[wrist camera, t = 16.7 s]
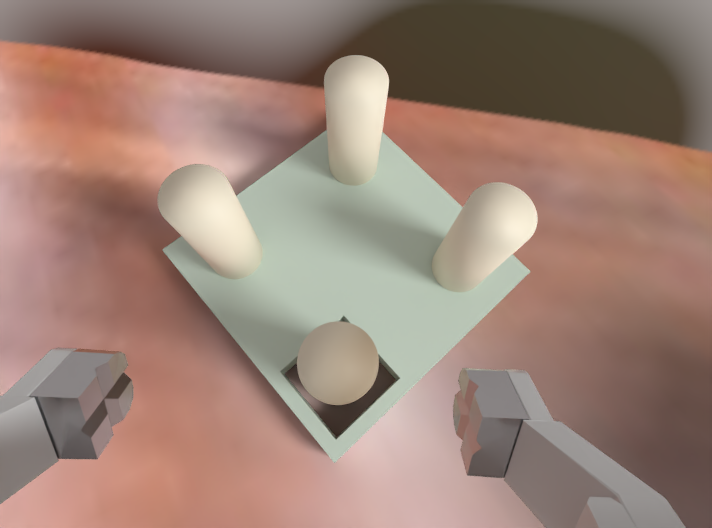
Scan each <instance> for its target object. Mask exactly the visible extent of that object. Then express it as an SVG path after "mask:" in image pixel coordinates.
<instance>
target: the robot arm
mask: <svg viewBox="0 0 712 528" xmlns="http://www.w3.org/2000/svg"><path fill="white" fill-rule="evenodd" d="M127 366H128V363H127V360H126V356H125V354H124V353H122V352H119V351H105V350H91V349H71V348H56V349H52V350H50V351H49V352H48V353H47V354H46V355H45V356H44V357H43V358H42V359H41V360H40V361H39V362H38V363H37V364H36V365H35V366H34V367H33V368H31V369H30V370H29V371H28V372H27V373H26V374H25V375H24V376H23V377H22V378H21V379H20V380H19V381H18V382H17V383H16V384H15V385H14V386H13V387H11V388H10V389H9V390H8V391H7V392H6V393H5V394H4V395H3V396H0V504H1V503H3V502H4V501H5V500H7V499H8V498H9V497H11V496H12V495H13V494H15V493H16V492H17V491H19V490H20V489H21V488H23V487H24V486H25V485H27V484H28V483H29V482H31V481H32V480H33V479H35V478H36V477H37V476H39V475H40V474H41V473H43V472H44V471H46V470H47V469H48V468H50V467H51V466H52V465H54V464H55V463H56V462H58V459H98V458H99V456H100V455H101V453H102V452H103V450H104V449H105V447H106V446H107V444H108V443H109V441H110V440H111V438H112V436H113V430H112V426H114V425H115V424H117V423H119V422H120V421H122V420H123V419H124V418H125V416H126V414H127V413H128V411H129V410H130V406H131V403H132V400H133V384H132V380H131V379H130V378H129V377H128V376H127V375H126V374H125V373H124V370H125V369H126V368H127ZM458 381H459V385H460V388H461V391H459V392H458V393H457V394H456V395H455V400H454V406H453V418H454V426H455V430H456V434H457V435H458V436H459V437H460V438H461V439H462V440H463V442H462V446H461V454H462V458H463V461H464V465H465V469H466V473H467V475H468V476H482V477H496V478H504V480H505V482H506V483H507V484H508V485H509V486H510V487H511V488H512V490H513V491H514V492H515V493H516V494H517V495H518V496H519V498H520V499H521V500H522V501H523V502H524V503H525V504H526V506H527V507H528V508H529V509H530V510H531V511H532V512H533V514H534V515H535V516H536V517H537V518H538V519H539V520H540V522H541V523H542V524H543V525H544V526H545V527H546V528H686V527H685V526H684V524H683V523H682V521H681V520H680V518H679V517H678V516H677V514H676V513H675V511H674V510H673V508H672V507H671V505H670V504H669V502H668V501H667V500H666V498H664V497H663V496H662V495H660V494H659V493H658V492H656V491H655V490H653V489H652V488H651V487H649V486H648V485H647V484H645V483H644V482H642V481H641V480H640V479H638V478H637V477H636V476H634V475H633V474H631V473H630V472H629V471H627V470H626V469H625V468H623V467H622V466H621V465H619V464H618V463H616V462H615V461H614V460H612V459H611V458H610V457H608V456H607V455H605V454H604V453H603V452H601V451H600V450H599V449H597V448H596V447H594V446H593V445H592V444H590V443H589V442H588V441H586V440H585V439H584V438H582V437H581V436H579V435H578V434H577V433H575V432H574V431H573V430H571V429H570V428H568V427H567V426H566V425H564V424H563V423H562V422H559V421H554V420H553V418H552V416H551V415H550V413H549V411H548V409H547V407H546V405H545V404H544V402H543V400H542V398H541V396H540V394H539V392H538V391H537V389H536V387H535V385H534V383H533V381H532V379H531V378H530V376H529V374H528V372H526V371H525V370H492V369H469V368H463V369H462V370H461V372H460V376H459V380H458Z"/></svg>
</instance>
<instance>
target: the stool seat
mask: <svg viewBox="0 0 712 528" xmlns="http://www.w3.org/2000/svg"><path fill="white" fill-rule="evenodd" d="M388 87H389V78H388V74H387V72H386V70H385V69H384V68H383V66H382V65H381V64H380V63H378V62H377V61H375V60H373V59H371V58H369V57H366V56H360V55H351V56H346V57H343V58H340V59H338V60H337V61H335V62H334V63H332V64H331V65H330V66H329V68H328V69H327V71H326V74H325V77H324V88H325V105H326V121H327V130H326V131H324V132H323V133H321V134H320V135H319V136H317V137H316V138H315V139H313V140H312V141H311V142H309V143H308V144H306V145H305V146H304V147H302V148H301V149H300V150H298V151H297V152H295V153H294V154H293V155H291V156H290V157H289V158H287V159H286V160H285V161H283V162H282V163H280V164H279V165H278V166H276V167H275V168H274V169H272V170H271V171H269V172H268V173H267V174H265V175H264V176H263V177H261V178H260V179H259V180H257V181H256V182H254V183H253V184H252V185H250V186H249V187H248V188H246V189H245V190H243V191H242V192H241V193H239V194H238V195H237V196H236V195H235V193H234V191H233V189H232V187H231V185H230V183H229V181H228V179H227V178H226V176H225V175H224V174H223V173H222V172H221V171H219V170H218V169H216V168H214V167H212V166H208V165H203V164H194V165H188V166H185V167H182V168H180V169H178V170H176V171H174V172H173V173H172V174H170V175H169V176H168V177H167V178H166V179H165V181H164V182H163V184H162V185H161V187H160V190H159V193H158V207H159V211H160V213H161V214H162V216H163V217H164V218H165V220H166V221H167V222H168V223H169V224H170V225H171V226H172V227H173V228H174V229H175V230H176V231H177V232H178V233H179V234H180V235H181V236H180V237H179V238H178V239H176V240H175V241H174V242H172V243H171V244H170V245H168V246H167V247H165V248H164V249H163V252H164V253H165V254H166V255H167V256H168V258H169V259H170V260H171V261H172V263H173V264H174V265H175V266H176V268H177V269H178V270H179V271H180V273H181V274H182V275H183V276H184V277H185V279H186V280H187V281H188V282H189V284H190V285H191V286H192V287H193V289H194V290H195V291H196V292H197V294H198V295H199V296H200V297H201V299H202V300H203V301H204V302H205V303H206V305H207V306H208V307H209V308H210V310H211V311H212V312H213V313H214V315H215V316H216V317H217V318H218V320H219V321H220V322H221V323H222V324H223V326H224V327H225V328H226V329H227V331H228V332H229V333H230V334H231V336H232V337H233V338H234V339H235V341H236V342H237V343H238V344H239V346H240V347H241V348H242V349H243V350H244V352H245V353H246V354H247V355H248V357H249V358H250V359H251V360H252V362H253V363H254V364H255V365H256V367H257V368H258V369H259V370H260V372H261V373H262V374H263V375H264V376H265V378H266V379H267V380H268V381H269V383H270V384H271V385H272V386H273V388H274V389H275V390H276V391H277V393H278V394H279V395H280V396H281V397H282V399H283V400H284V401H285V402H286V404H287V405H288V406H289V407H290V409H291V410H292V411H293V412H294V414H295V415H296V416H297V417H298V419H299V420H300V421H301V422H302V423H303V425H304V426H305V427H306V428H307V430H308V431H309V432H310V433H311V435H312V436H313V437H314V438H315V440H316V441H317V442H318V443H319V444H320V446H321V447H322V448H323V449H324V451H325V452H326V453H327V454H328V456H329V457H330V458H331V459H332V461H333V462H334V463H335V462H336V461H337V460H338V459H339V458H340V457H341V456H342V455H343V454H344V453H345V452H346V451H347V450H349V449H350V448H351V447H352V446H353V445H354V444H355V443H356V442H357V441H358V440H359V439H360V438H361V437H362V436H363V435H364V434H365V433H366V432H367V431H368V430H369V429H370V428H371V427H372V426H373V425H374V424H375V423H376V422H377V421H378V420H379V419H380V418H381V417H382V416H383V415H384V414H385V413H386V412H387V411H388V410H389V409H390V408H391V407H393V406H394V405H395V404H396V403H397V402H398V401H399V400H400V399H401V398H402V397H403V396H404V395H405V394H406V393H407V392H408V391H409V390H410V389H411V388H412V387H413V386H414V385H415V384H416V383H417V382H418V381H419V380H420V379H421V378H422V377H423V376H424V375H425V374H426V373H427V372H428V371H429V370H430V369H431V368H432V367H433V366H434V365H435V364H437V363H438V362H439V361H440V360H441V359H442V358H443V357H444V356H445V355H446V354H447V353H448V352H449V351H450V350H451V349H452V348H453V347H454V346H455V345H456V344H457V343H458V342H459V341H460V340H461V339H462V338H463V337H464V336H465V335H466V334H467V333H468V332H469V331H470V330H471V329H472V328H473V327H474V326H475V325H476V324H477V323H478V322H479V321H480V320H482V319H483V318H484V317H485V316H486V315H487V314H488V313H489V312H490V311H491V310H492V309H493V308H494V307H495V306H496V305H497V304H498V303H499V302H500V301H501V300H502V299H503V298H504V297H505V296H506V295H507V294H508V293H509V292H510V291H511V290H512V289H513V288H514V287H515V286H516V285H517V284H518V283H519V282H520V281H521V280H522V279H523V278H524V277H526V276H527V275H528V274H529V273H530V272H531V271H530V270H528V269H527V268H526V267H525V266H524V265H523V264H522V263H521V262H520V261H519V260H518V259H517V258H516V257H515V256H514V255H513V253H514V252H515V251H516V250H518V249H519V248H520V247H521V246H522V245H523V244H524V243H525V242H527V241H528V240H529V239H530V238H531V237H532V235H533V234H534V232H535V229H536V226H537V212H536V209H535V206H534V204H533V202H532V201H531V199H530V198H529V197H528V196H527V195H526V194H525V193H524V192H523V191H522V190H520V189H519V188H517V187H515V186H513V185H510V184H506V183H500V182H494V183H488V184H485V185H482V186H480V187H479V188H477V189H476V190H475V191H474V192H473V193H472V194H471V195H470V197H469V198H468V200H467V202H466V203H465V205H464V207H462V206H461V205H459V204H458V203H457V202H456V201H455V200H454V199H453V198H452V197H451V196H450V195H449V194H448V193H447V192H446V191H445V190H444V189H442V188H441V187H440V186H439V185H438V184H437V183H436V182H435V181H434V180H433V179H432V178H431V177H430V176H429V175H428V174H427V173H426V172H424V171H423V170H422V169H421V168H420V167H419V166H418V165H417V164H416V163H415V162H414V161H413V160H412V159H411V158H410V157H409V156H407V155H406V154H405V153H404V152H403V151H402V150H401V149H400V148H399V147H398V146H397V145H396V144H395V143H394V142H393V141H392V140H390V139H389V138H388V137H387V136H386V135H385V134H384V133H383V132H382V129H383V122H384V115H385V108H386V101H387V94H388ZM336 321H341V322H348V323H351V324H354V325H356V326H358V327H360V328H361V329H363V330H364V331H365V332H366V333H367V334H368V335H369V336H370V337H371V339H372V341H373V342H374V344H375V346H376V349H377V352H378V357H379V362H380V363H381V364H382V365H383V366H384V367H385V368H386V369H387V371H388V372H389V373H390V374H391V375H392V376H393V377H394V378H395V379H396V381H395V382H394V383H393V384H392V385H390V386H389V387H388V388H387V389H386V390H385V391H384V392H383V393H382V394H381V395H380V396H379V397H378V398H377V399H376V400H375V401H374V402H373V403H372V404H371V405H370V406H369V407H368V408H367V409H365V410H364V411H363V412H362V413H361V414H360V415H359V416H358V417H357V418H356V419H355V420H354V421H353V422H352V423H351V424H350V425H349V426H348V427H347V428H346V429H345V430H344V431H343V432H342V433H340V434H339V435H338V436H337V437H336V436H335V435H334V433H333V432H332V431H331V430H330V429H329V427H328V426H327V425H326V424H325V423H324V421H323V420H322V419H321V418H320V416H319V415H318V414H317V413H316V412H315V410H314V409H313V408H312V407H311V406H310V404H309V403H308V402H307V401H306V399H305V398H304V397H303V396H302V395H301V393H300V392H299V391H298V390H297V389H296V387H295V386H294V385H293V384H292V382H291V381H290V380H289V379H288V378H287V376H286V375H285V373H286V372H287V371H288V370H289V369H291V368H292V367H293V366H294V365H295V364H296V363H297V357H298V353H299V349H300V347H301V345H302V343H303V341H304V339H305V338H306V337H307V336H308V335H309V333H310V332H312V331H313V330H314V329H315V328H317V327H319V326H321V325H323V324H326V323H329V322H336Z"/></svg>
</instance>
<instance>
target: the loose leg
mask: <svg viewBox="0 0 712 528" xmlns="http://www.w3.org/2000/svg"><path fill="white" fill-rule="evenodd" d="M378 368H379V357H378V352H377V349H376V346H375V344H374V342H373V341H372V339H371V337H370V336H369V335H368V334H367V333H366V332H365V331H364V330H363V329H361V328H360V327H358V326H356V325H354V324H351V323H348V322H341V321H336V322H329V323H326V324H323V325H321V326H319V327H317V328H315V329H314V330H313V331H312V332H310V333H309V335H308V336H307V337H306V338H305V339H304V341H303V343H302V345H301V347H300V349H299V353H298V357H297V370H298V375H299V378H300V380H301V383H302V384H303V386H304V388H305V389H306V390H307V392H308V393H309V394H311V395H312V396H313V397H314V398H316V399H317V400H319V401H321V402H324V403H327V404H331V405H344V404H348V403H351V402H354V401H356V400H358V399H359V398H361V397H362V396H364V395H365V394H366V393H367V392H368V391H369V389H370V388H371V387H372V385H373V384H374V381H375V379H376V377H377V373H378Z"/></svg>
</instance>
